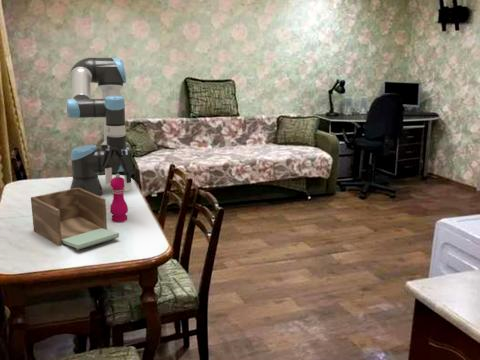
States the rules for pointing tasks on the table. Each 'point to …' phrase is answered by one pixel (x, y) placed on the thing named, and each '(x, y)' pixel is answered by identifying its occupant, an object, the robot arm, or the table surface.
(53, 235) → the crate
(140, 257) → the table surface
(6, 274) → the table surface
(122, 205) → the pepper mill
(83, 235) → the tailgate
